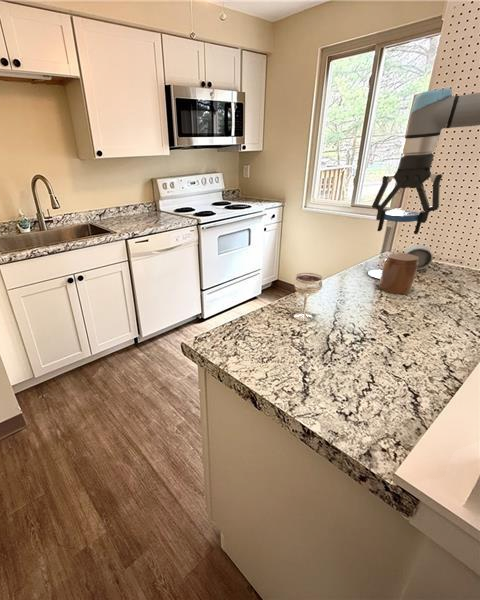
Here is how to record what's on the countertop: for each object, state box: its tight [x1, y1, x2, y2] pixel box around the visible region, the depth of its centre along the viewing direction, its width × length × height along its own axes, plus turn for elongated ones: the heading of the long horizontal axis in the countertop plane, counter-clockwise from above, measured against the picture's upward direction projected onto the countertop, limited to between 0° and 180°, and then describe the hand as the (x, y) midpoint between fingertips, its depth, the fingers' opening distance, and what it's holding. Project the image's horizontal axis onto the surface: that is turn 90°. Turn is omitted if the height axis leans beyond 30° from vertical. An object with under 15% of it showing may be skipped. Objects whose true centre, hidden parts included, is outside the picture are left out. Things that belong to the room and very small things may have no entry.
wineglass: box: [293, 272, 324, 322], centre depth 84 cm, size 7×7×12 cm
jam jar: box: [377, 252, 419, 295], centre depth 94 cm, size 8×8×10 cm
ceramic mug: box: [404, 244, 434, 271], centre depth 110 cm, size 11×8×8 cm
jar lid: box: [383, 210, 420, 223], centre depth 97 cm, size 9×9×2 cm
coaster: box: [367, 269, 383, 281], centre depth 106 cm, size 10×10×1 cm
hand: (397, 231), depth 99 cm, fingers closed on jar lid, 9 cm apart
